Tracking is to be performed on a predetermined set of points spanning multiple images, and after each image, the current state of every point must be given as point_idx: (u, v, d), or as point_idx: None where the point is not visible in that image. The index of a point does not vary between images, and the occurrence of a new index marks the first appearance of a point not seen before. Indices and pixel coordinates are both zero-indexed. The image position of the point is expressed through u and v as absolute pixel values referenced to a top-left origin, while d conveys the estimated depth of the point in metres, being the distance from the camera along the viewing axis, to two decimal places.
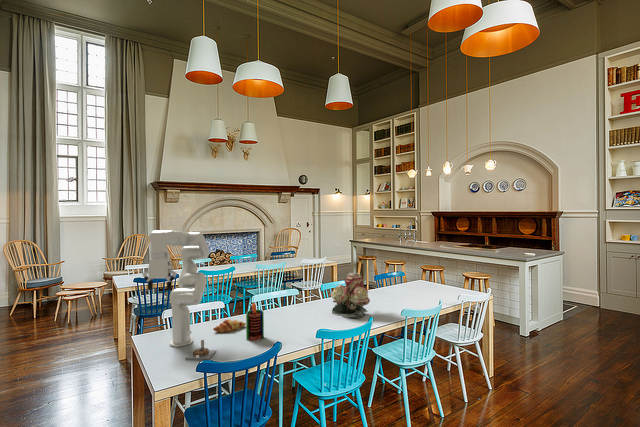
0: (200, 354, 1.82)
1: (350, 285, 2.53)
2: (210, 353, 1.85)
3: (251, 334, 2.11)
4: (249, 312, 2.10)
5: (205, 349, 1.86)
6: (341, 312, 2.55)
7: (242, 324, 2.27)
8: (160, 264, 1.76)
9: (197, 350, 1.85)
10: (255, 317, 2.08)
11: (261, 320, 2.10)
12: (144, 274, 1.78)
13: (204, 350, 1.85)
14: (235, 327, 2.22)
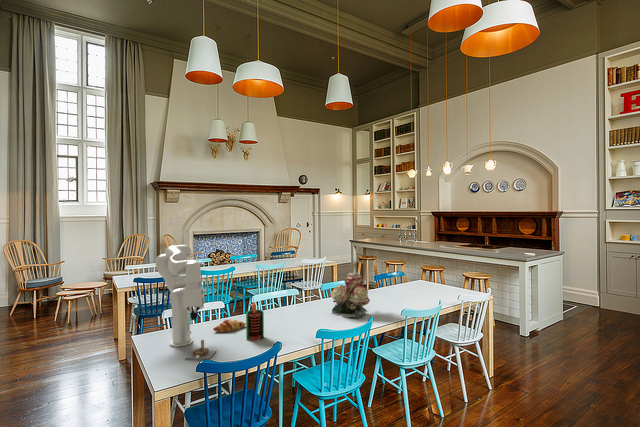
0: (200, 354, 1.82)
1: (350, 285, 2.53)
2: (210, 353, 1.85)
3: (251, 334, 2.11)
4: (249, 312, 2.10)
5: (205, 349, 1.86)
6: (341, 312, 2.55)
7: (242, 324, 2.27)
8: (194, 293, 1.84)
9: (197, 350, 1.85)
10: (255, 317, 2.08)
11: (261, 320, 2.11)
12: (185, 307, 1.86)
13: (204, 350, 1.85)
14: (235, 327, 2.22)
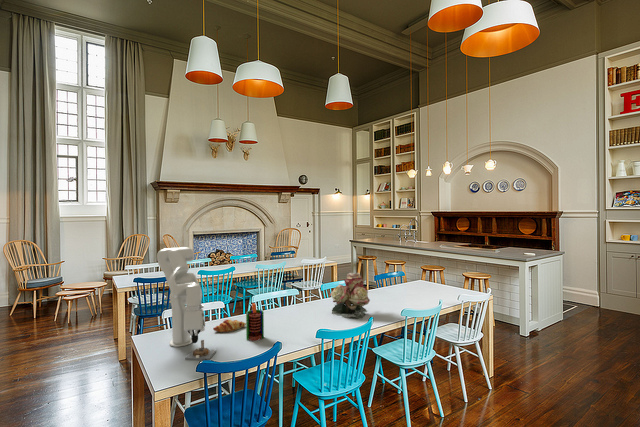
0: (200, 354, 1.82)
1: (350, 285, 2.53)
2: (210, 353, 1.85)
3: (251, 334, 2.11)
4: (249, 312, 2.10)
5: (205, 349, 1.86)
6: (341, 312, 2.55)
7: (242, 324, 2.27)
8: (195, 316, 1.84)
9: (197, 350, 1.85)
10: (255, 317, 2.08)
11: (261, 320, 2.10)
12: (186, 330, 1.86)
13: (204, 350, 1.85)
14: (235, 327, 2.22)
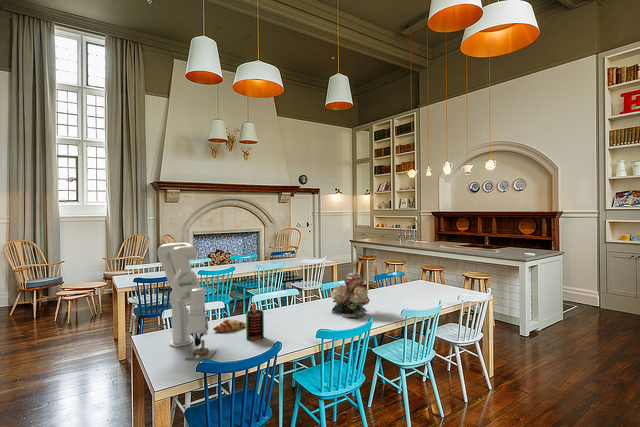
0: (199, 354, 1.82)
1: (350, 285, 2.53)
2: (210, 353, 1.85)
3: (251, 334, 2.11)
4: (249, 312, 2.10)
5: (205, 349, 1.86)
6: (341, 312, 2.55)
7: (242, 324, 2.27)
8: (198, 320, 1.84)
9: (197, 350, 1.85)
10: (255, 317, 2.08)
11: (261, 320, 2.11)
12: (189, 333, 1.86)
13: (204, 350, 1.84)
14: (235, 327, 2.22)
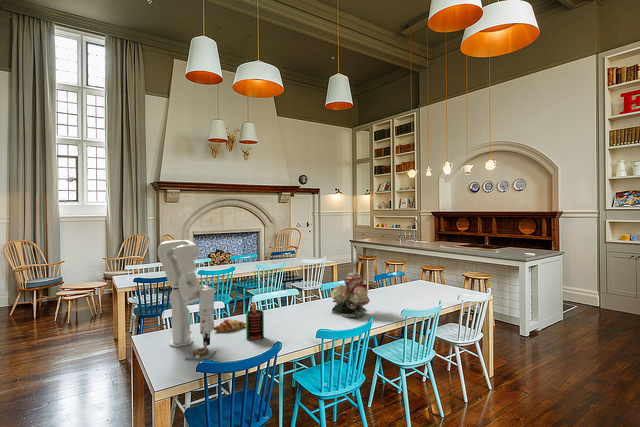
0: None
1: (350, 285, 2.53)
2: (210, 353, 1.85)
3: (251, 334, 2.11)
4: (249, 312, 2.10)
5: (202, 351, 1.83)
6: (341, 312, 2.55)
7: (242, 324, 2.27)
8: None
9: (202, 349, 1.86)
10: (255, 317, 2.08)
11: (261, 320, 2.10)
12: None
13: (200, 352, 1.83)
14: (235, 327, 2.22)
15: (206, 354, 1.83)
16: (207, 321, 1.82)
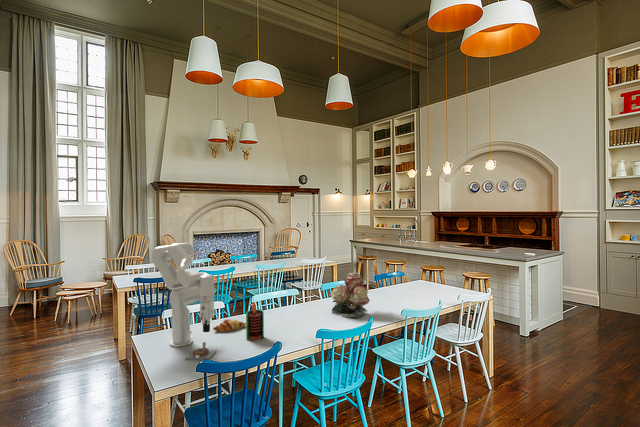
0: None
1: (350, 285, 2.54)
2: (210, 353, 1.85)
3: (251, 334, 2.11)
4: (249, 312, 2.10)
5: (200, 352, 1.82)
6: (341, 312, 2.55)
7: (242, 324, 2.27)
8: None
9: None
10: (255, 317, 2.08)
11: (261, 320, 2.11)
12: None
13: (198, 351, 1.83)
14: (235, 327, 2.22)
15: (203, 355, 1.81)
16: (207, 308, 1.83)
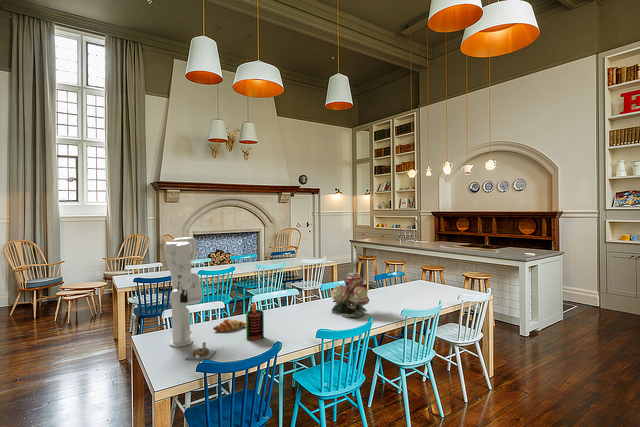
0: None
1: (350, 285, 2.54)
2: (210, 353, 1.85)
3: (251, 334, 2.11)
4: (249, 312, 2.10)
5: (200, 352, 1.82)
6: (341, 312, 2.56)
7: (242, 324, 2.27)
8: None
9: None
10: (255, 317, 2.08)
11: (261, 320, 2.11)
12: None
13: (198, 351, 1.83)
14: (235, 327, 2.22)
15: (203, 355, 1.81)
16: (183, 276, 1.77)
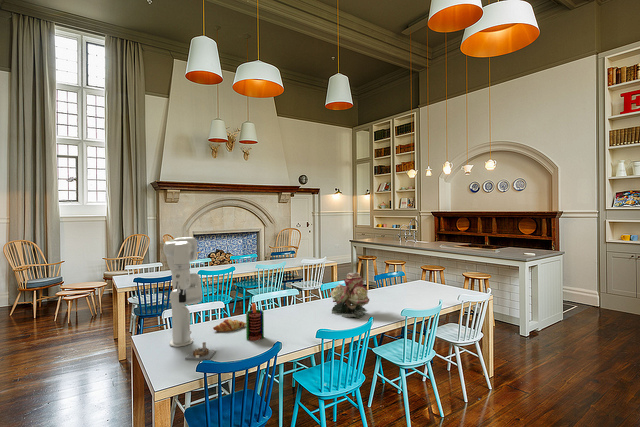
0: None
1: (350, 285, 2.54)
2: (210, 353, 1.85)
3: (251, 334, 2.11)
4: (249, 312, 2.10)
5: (200, 352, 1.82)
6: (341, 312, 2.56)
7: (242, 324, 2.27)
8: None
9: None
10: (255, 317, 2.08)
11: (261, 320, 2.11)
12: None
13: (198, 351, 1.83)
14: (235, 327, 2.22)
15: (203, 355, 1.81)
16: (181, 276, 1.77)
